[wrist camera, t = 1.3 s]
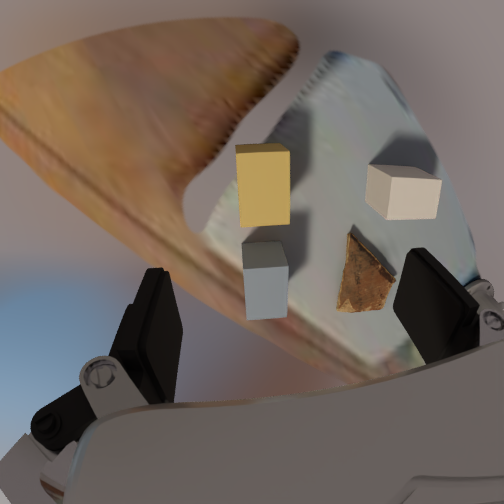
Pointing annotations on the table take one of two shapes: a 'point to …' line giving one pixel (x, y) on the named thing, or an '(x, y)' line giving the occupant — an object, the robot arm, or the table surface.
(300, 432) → the robot arm
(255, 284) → the slate brick
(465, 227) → the table surface
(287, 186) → the mustard brick
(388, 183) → the cream brick
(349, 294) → the shard
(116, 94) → the table surface
